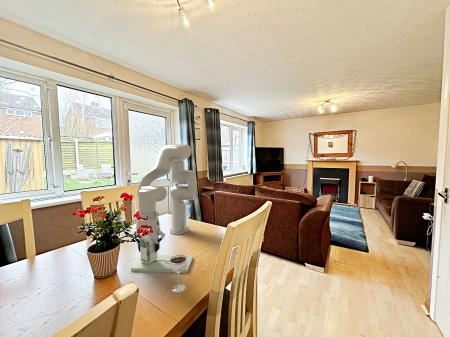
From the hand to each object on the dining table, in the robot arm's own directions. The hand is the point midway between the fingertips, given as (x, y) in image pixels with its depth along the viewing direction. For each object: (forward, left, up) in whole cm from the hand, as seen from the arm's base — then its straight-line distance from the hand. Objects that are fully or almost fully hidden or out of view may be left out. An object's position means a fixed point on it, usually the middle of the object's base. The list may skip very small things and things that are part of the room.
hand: (149, 250), depth 94 cm
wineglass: (+16, +19, -7) cm, 26 cm away
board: (0, +7, -7) cm, 10 cm away
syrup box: (0, 0, -5) cm, 5 cm away
